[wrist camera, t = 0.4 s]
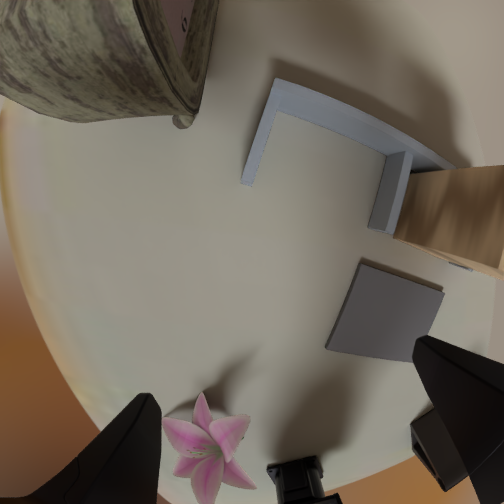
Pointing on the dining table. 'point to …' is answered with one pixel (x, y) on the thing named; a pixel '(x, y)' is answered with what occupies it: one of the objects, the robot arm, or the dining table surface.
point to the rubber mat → (383, 316)
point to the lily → (208, 450)
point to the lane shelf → (359, 129)
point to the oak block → (457, 217)
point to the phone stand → (437, 450)
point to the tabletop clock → (106, 57)
